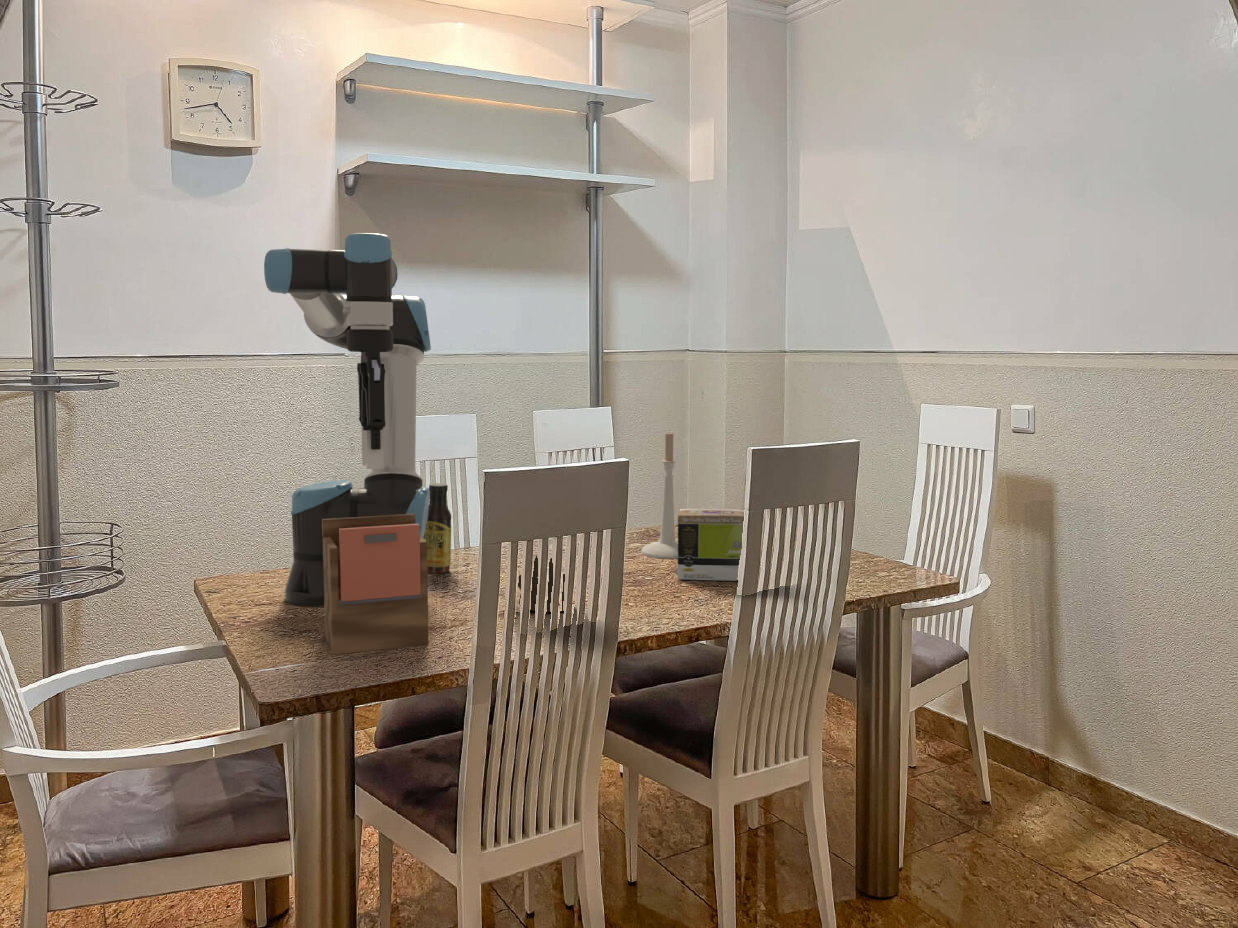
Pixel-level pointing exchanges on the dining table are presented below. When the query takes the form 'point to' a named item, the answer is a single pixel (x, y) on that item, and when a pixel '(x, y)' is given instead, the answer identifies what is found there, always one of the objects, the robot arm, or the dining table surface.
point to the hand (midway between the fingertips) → (372, 466)
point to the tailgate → (379, 563)
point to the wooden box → (370, 620)
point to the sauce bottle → (438, 530)
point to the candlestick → (666, 512)
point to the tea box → (709, 543)
